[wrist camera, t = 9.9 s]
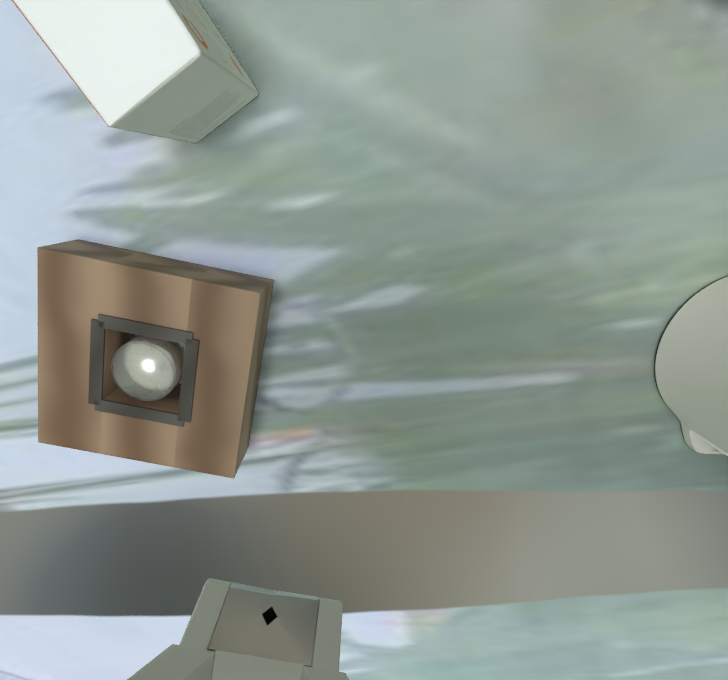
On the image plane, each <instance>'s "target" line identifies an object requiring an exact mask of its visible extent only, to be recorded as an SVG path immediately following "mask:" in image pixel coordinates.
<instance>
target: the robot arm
mask: <svg viewBox="0 0 728 680" xmlns="http://www.w3.org/2000/svg"><path fill="white" fill-rule="evenodd" d="M655 374H656V381H657V386H658V389H659V392H660V394H661V396H662V398H663V400H664V401H665V403H666V404H667V406H668V407H669V408H670V409H671V410H672V412H673V413H674V414H675V415H676V416H677V417H678V419H679V420H680V422H681V426H682V431H683V436H684V439H685V442H686V444H687V445H688V446H689V447H690V448H692V449H693V450H695V451H696V452H698V453H702V454H725V455H726V456H728V277H725V278H723V279H720V280H718V281H716V282H714V283H712V284H711V285H709V286H707V287H706V288H704V289H703V290H701V291H700V292H698V293H697V294H696V295H694V296H693V297H692V298H691V299H690V300H689V301H688V302H687V303H686V304H684V306H683V307H682V308H681V309H680V310H679V311H678V312H677V314H676V315H675V316H674V317H673V319H672V320H671V322H670V323H669V325H668V327H667V328H666V330H665V332H664V334H663V336H662V339H661V341H660V344H659V347H658V351H657V355H656V364H655ZM342 610H343V605H342V602H341V601H336V600H330V599H323V598H320V599H319V598H318V597H313V596H307V595H300V594H294V593H288V592H282V591H273V590H267V589H262V588H257V587H253V586H248V585H243V584H238V583H231V582H226V581H221V580H216V579H210V578H209V579H208V580H207V582H206V583H205V585H204V587H203V589H202V592H201V594H200V597H199V599H198V602H197V604H196V607H195V609H194V611H193V614H192V616H191V619H190V621H189V623H188V626H187V628H186V631H185V633H184V635H183V638H182V640H181V643H180V645H174V644H172V645H171V646H170V647H168V648H167V649H166V650H164V651H163V652H162V653H161V654H159V655H158V656H157V657H156V658H154V659H153V660H152V661H150V662H149V663H148V664H147V665H145V666H144V667H143V668H141V669H140V670H139V671H138V672H136V673H135V674H134V675H133V676H131V677H130V678H129V679H127V680H349V679H348V677H347V675H346V673H343V672H339V658H340V642H341V626H342Z"/></svg>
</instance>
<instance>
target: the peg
mask: <svg viewBox="0 0 728 680" xmlns="http://www.w3.org/2000/svg"><path fill="white" fill-rule="evenodd" d="M184 347H185V344H181V343H176V342H171V341H165V340H160V339H155V338H150V337H145V336H140V335H137V336H136V337H134V338H133V339H131V340H130V341H128V342H127V343H125V344H124V345H122V346H121V347H120V348H119V349H118V350H117V351H116V352H115V354H114V356H113V358H112V362H111V371H112V375H113V378H114V380H115V382H116V384H117V385H118V386H119V388H120V389H121V390H122V391H123V392H125V393H126V394H127V395H129V396H131V397H133V398H135V399H138V400H142V401H155V400H158V399H161V398H163V397H165V396H166V395H167V394H168V393H169V392H170V391H171V390H172V389H173V388H174V387H175V386H176V385H177V384H178V383H179V382H180V381H181V378H182V368H183V357H184Z"/></svg>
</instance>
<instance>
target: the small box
mask: <svg viewBox="0 0 728 680" xmlns="http://www.w3.org/2000/svg"><path fill="white" fill-rule="evenodd" d="M12 1H13V3H14V4H15V5H16V7H17V8H18V9H19V10H20V12H21V13H22V14H23V16H24V17H25V18H26V20H27V21H28V22H29V24H30V25H31V26H32V27H33V29H34V30H35V31H36V33H37V34H38V35H39V37H40V38H41V39H42V41H43V42H44V43H45V44H46V46H47V47H48V48H49V50H50V51H51V52H52V54H53V55H54V56H55V58H56V59H57V60H58V62H59V63H60V64H61V65H62V67H63V68H64V70H65V71H66V72H67V73H68V75H69V76H70V77H71V79H72V80H73V81H74V82H75V84H76V85H77V86H78V88H79V89H80V90H81V92H82V93H83V94H84V96H85V97H86V98H87V99H88V101H89V102H90V103H91V105H92V106H93V107H94V109H95V110H96V111H97V112H98V114H99V115H100V116H101V118H102V119H103V120H104V122H105V123H106V124H107V126H108V127H112V128H118V129H123V130H128V131H133V132H138V133H144V134H149V135H154V136H159V137H164V138H169V139H175V140H180V141H185V142H190V143H197V142H199V141H200V140H201V139H202V138H204V137H205V136H206V135H207V134H209V133H210V132H211V131H213V130H214V129H215V128H216V127H218V126H219V125H220V124H222V123H223V122H224V121H226V120H227V119H228V118H229V117H231V116H232V115H233V114H235V113H236V112H237V111H238V110H240V109H241V108H242V107H244V106H245V105H246V104H248V103H249V102H250V101H251V100H253V99H254V98H255V97H257V96H258V94H259V93H258V91H257V89H256V88H255V86H254V85H253V83H252V81H251V80H250V78H249V77H248V75H247V74H246V72H245V71H244V69H243V68H242V66H241V65H240V63H239V62H238V60H237V59H236V57H235V55H234V54H233V52H232V51H231V49H230V48H229V46H228V45H227V43H226V42H225V40H224V39H223V37H222V36H221V34H220V33H219V31H218V30H217V28H216V27H215V25H214V24H213V22H212V21H211V19H210V18H209V16H208V15H207V13H206V12H205V10H204V9H203V7H202V6H201V4H200V3H199V2H198V0H12Z"/></svg>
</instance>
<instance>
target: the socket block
mask: <svg viewBox="0 0 728 680" xmlns="http://www.w3.org/2000/svg"><path fill="white" fill-rule="evenodd" d="M273 281H274V280H271V279H266V278H261V277H257V276H252V275H247V274H242V273H237V272H232V271H228V270H223V269H218V268H213V267H208V266H203V265H199V264H194V263H189V262H184V261H179V260H174V259H170V258H165V257H160V256H155V255H150V254H145V253H141V252H136V251H131V250H126V249H121V248H116V247H112V246H107V245H102V244H97V243H92V242H87V241H83V240H73V241H68V242H63V243H58V244H53V245H48V246H43V247H38V442H40V443H45V444H51V445H56V446H62V447H67V448H73V449H78V450H83V451H89V452H94V453H100V454H105V455H110V456H116V457H121V458H127V459H132V460H138V461H143V462H148V463H154V464H159V465H165V466H170V467H175V468H181V469H186V470H192V471H197V472H203V473H208V474H213V475H219V476H224V477H230V478H234V477H235V475H236V473H237V470H238V468H239V466H240V464H241V462H242V460H243V457H244V455H245V453H246V451H247V449H248V446H249V439H250V433H251V426H252V419H253V413H254V406H255V400H256V393H257V387H258V380H259V373H260V367H261V360H262V354H263V347H264V340H265V334H266V327H267V321H268V314H269V307H270V301H271V294H272V288H273ZM135 335H140V336H145V337H150V338H155V339H160V340H165V341H171V342H176V343H181V344H185V347H184V357H183V368H182V378H181V384H177V385H176V386H175V387H174V388H173V389H172V390H171V391H170V392H169V393H168V394H167V395H166V396H165V397H163V398H161V399H158V400H155V401H142V400H138V399H135V398H133V397H131V396H129V395H127V394H126V393H125V392H123V391H122V390H121V389H120V388H119V386H118V385H117V384H116V382H115V380H114V378H113V375H112V371H111V362H112V358H113V356H114V354H115V352H116V351H117V350H118V349H119V348H120V347H121V346H122V345H124V344H125V343H127V342H128V341H130V340H131V339H133V338H134V337H135Z"/></svg>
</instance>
